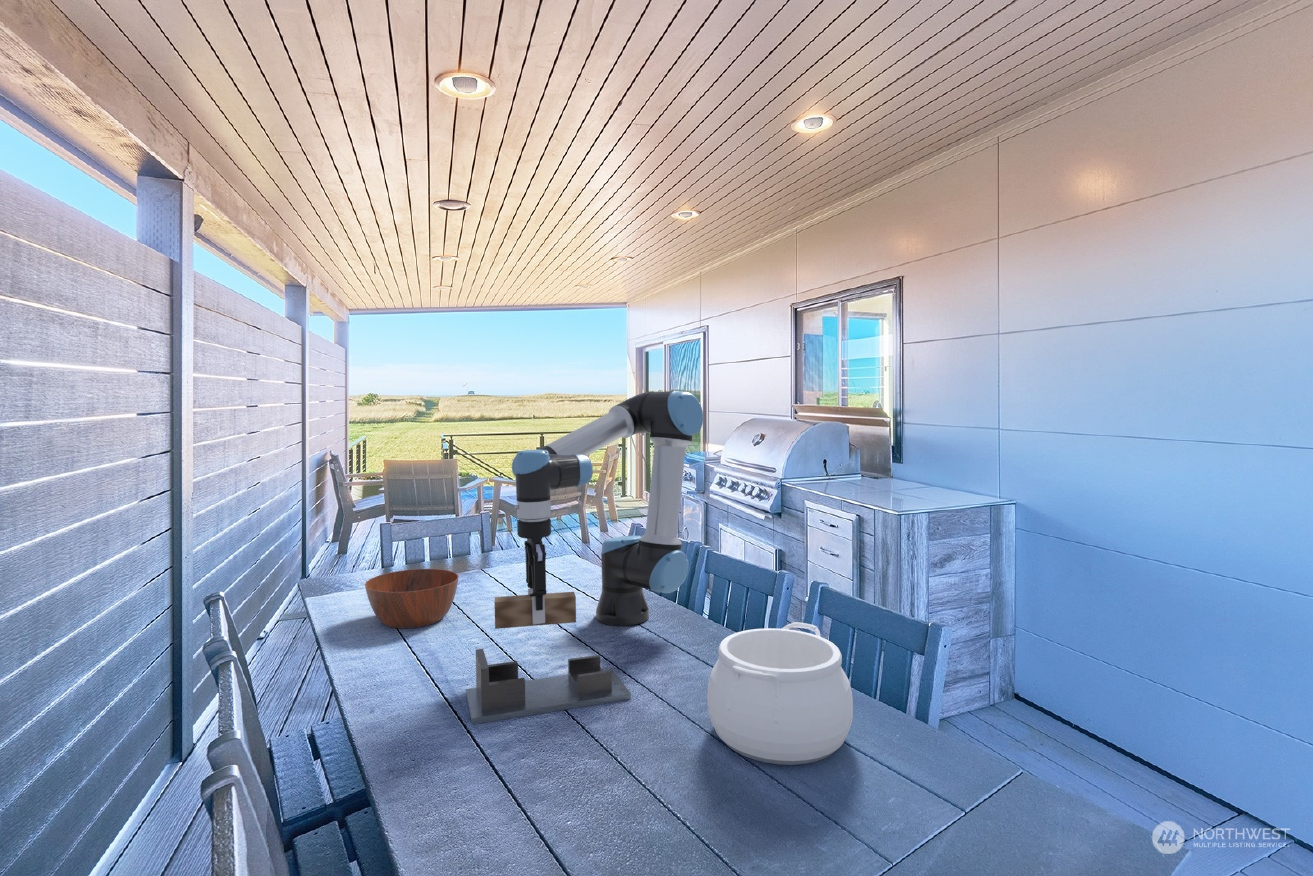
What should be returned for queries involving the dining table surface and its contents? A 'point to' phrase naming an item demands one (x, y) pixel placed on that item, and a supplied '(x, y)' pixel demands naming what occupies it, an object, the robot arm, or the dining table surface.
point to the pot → (780, 695)
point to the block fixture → (540, 689)
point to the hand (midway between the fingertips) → (536, 619)
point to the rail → (520, 610)
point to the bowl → (412, 596)
